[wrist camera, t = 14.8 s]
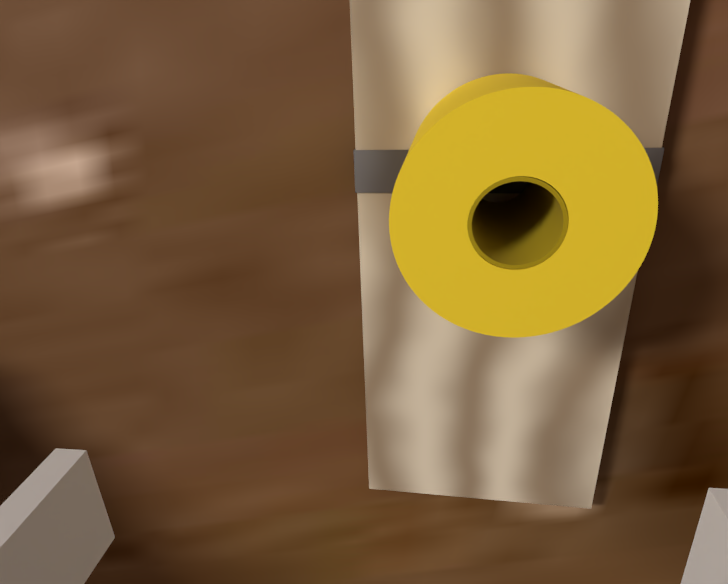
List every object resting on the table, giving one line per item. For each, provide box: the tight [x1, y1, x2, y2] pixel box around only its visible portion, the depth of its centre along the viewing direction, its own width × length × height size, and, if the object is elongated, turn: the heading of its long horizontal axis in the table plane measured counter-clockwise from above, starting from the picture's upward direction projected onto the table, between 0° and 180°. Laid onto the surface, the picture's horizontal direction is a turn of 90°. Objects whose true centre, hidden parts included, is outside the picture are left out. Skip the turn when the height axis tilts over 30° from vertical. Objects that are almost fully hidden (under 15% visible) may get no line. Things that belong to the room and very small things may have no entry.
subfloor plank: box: [350, 0, 690, 509], centre depth 33 cm, size 16×34×2 cm, turn 2°
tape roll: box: [389, 73, 658, 338], centre depth 25 cm, size 10×10×9 cm
